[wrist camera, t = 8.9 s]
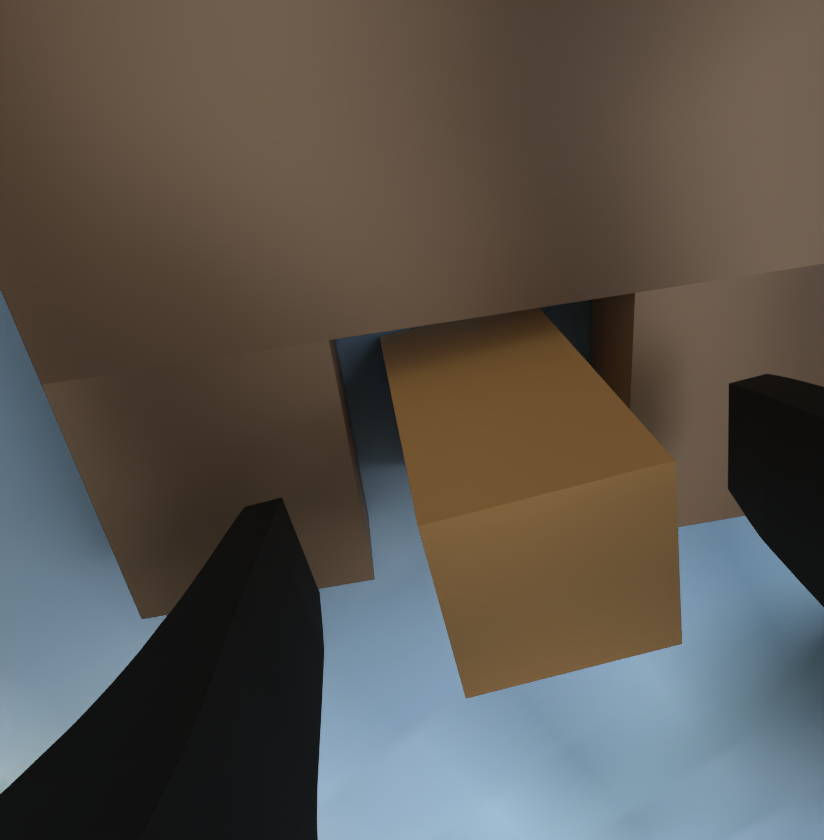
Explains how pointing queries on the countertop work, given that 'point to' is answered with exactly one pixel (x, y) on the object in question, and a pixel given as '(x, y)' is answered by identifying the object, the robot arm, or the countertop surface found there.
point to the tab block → (533, 500)
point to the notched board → (390, 230)
